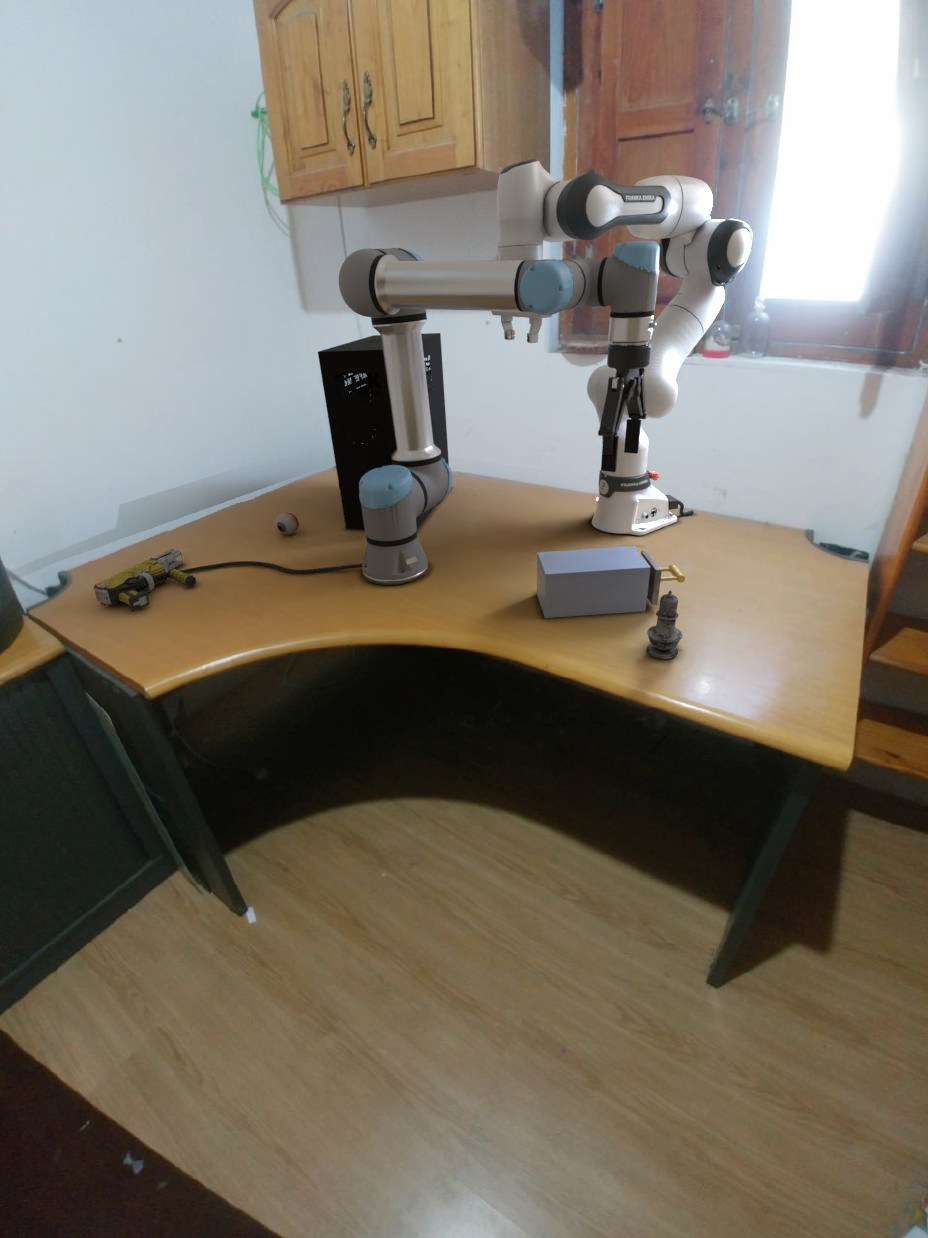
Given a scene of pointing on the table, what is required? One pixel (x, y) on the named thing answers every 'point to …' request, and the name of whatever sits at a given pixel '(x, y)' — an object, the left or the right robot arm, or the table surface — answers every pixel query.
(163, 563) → the toy gun
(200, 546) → the table surface
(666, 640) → the dark grey chess piece
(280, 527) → the eyeball
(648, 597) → the drawer
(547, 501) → the table surface
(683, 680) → the table surface
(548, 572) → the cabinet
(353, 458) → the black tall box
